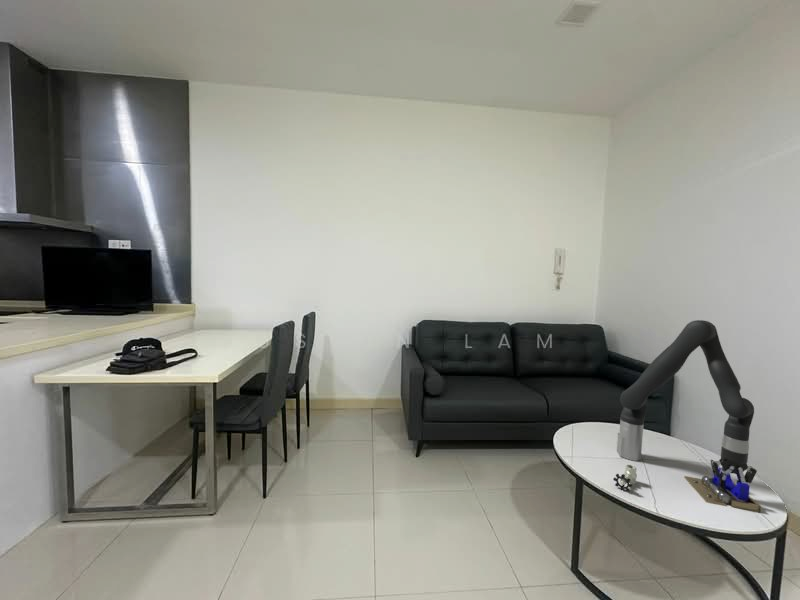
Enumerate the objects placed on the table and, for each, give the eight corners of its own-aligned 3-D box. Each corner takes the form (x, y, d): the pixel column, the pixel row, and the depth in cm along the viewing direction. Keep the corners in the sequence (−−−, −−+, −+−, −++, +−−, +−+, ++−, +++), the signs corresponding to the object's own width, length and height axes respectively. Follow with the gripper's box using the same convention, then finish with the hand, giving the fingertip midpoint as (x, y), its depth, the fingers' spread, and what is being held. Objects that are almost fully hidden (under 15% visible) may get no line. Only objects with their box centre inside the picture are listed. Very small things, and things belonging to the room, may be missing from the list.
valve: (623, 476, 144) (612, 486, 137) (624, 461, 144) (613, 471, 136) (641, 484, 139) (631, 495, 132) (642, 468, 139) (632, 478, 131)
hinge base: (705, 501, 129) (706, 493, 128) (684, 477, 145) (684, 470, 145) (760, 512, 123) (761, 503, 123) (731, 486, 140) (732, 478, 139)
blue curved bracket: (713, 480, 140) (714, 466, 139) (726, 482, 139) (727, 468, 138) (733, 498, 128) (735, 483, 128) (748, 500, 127) (749, 485, 127)
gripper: (717, 448, 131) (713, 490, 132) (764, 456, 126) (760, 499, 127) (707, 440, 138) (703, 480, 139) (751, 447, 133) (747, 487, 134)
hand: (730, 489), depth 133 cm, fingers closed on blue curved bracket, 4 cm apart
